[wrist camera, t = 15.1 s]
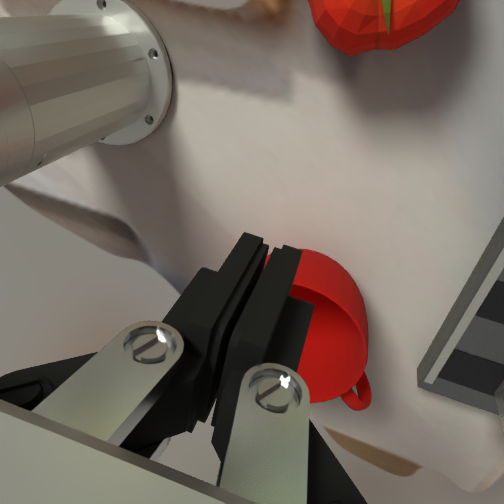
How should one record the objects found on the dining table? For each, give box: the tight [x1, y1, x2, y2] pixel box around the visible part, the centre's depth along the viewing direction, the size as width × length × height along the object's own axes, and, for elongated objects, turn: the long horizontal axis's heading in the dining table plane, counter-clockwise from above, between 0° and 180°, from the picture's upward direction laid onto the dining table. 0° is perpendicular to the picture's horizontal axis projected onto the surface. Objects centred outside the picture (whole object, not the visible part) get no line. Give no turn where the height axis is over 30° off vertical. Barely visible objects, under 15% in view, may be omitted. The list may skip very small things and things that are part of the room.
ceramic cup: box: [264, 249, 371, 411], centre depth 41 cm, size 13×17×10 cm
